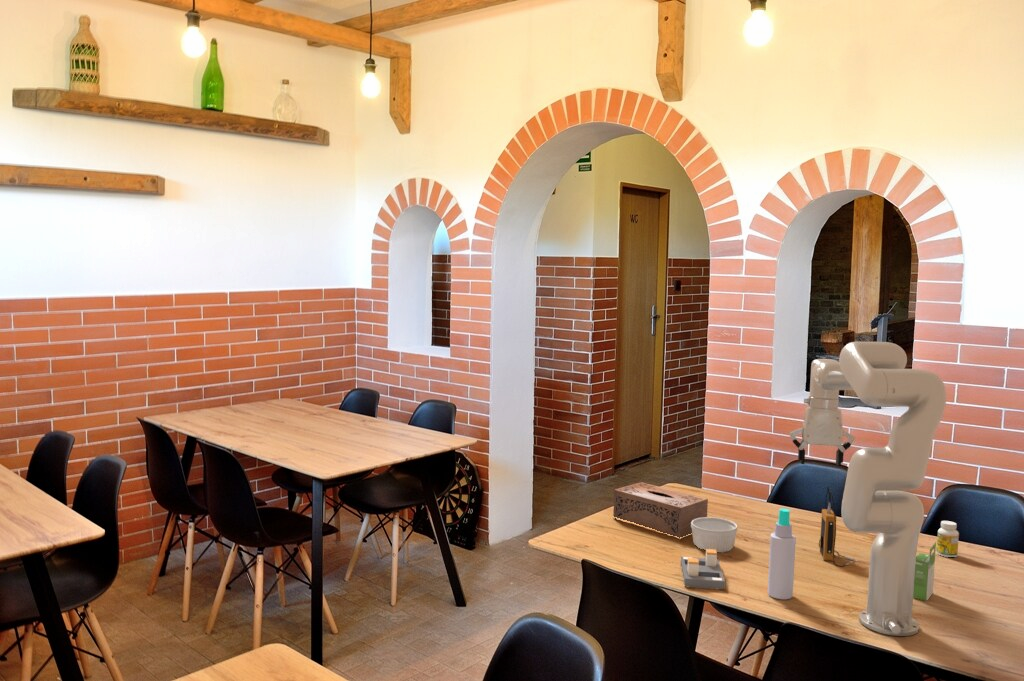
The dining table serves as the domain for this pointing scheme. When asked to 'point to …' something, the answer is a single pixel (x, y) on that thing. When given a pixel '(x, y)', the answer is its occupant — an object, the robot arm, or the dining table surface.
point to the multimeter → (829, 533)
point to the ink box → (924, 575)
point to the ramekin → (714, 533)
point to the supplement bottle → (947, 539)
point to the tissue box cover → (659, 508)
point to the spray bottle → (782, 558)
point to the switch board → (703, 575)
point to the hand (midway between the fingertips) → (820, 464)
